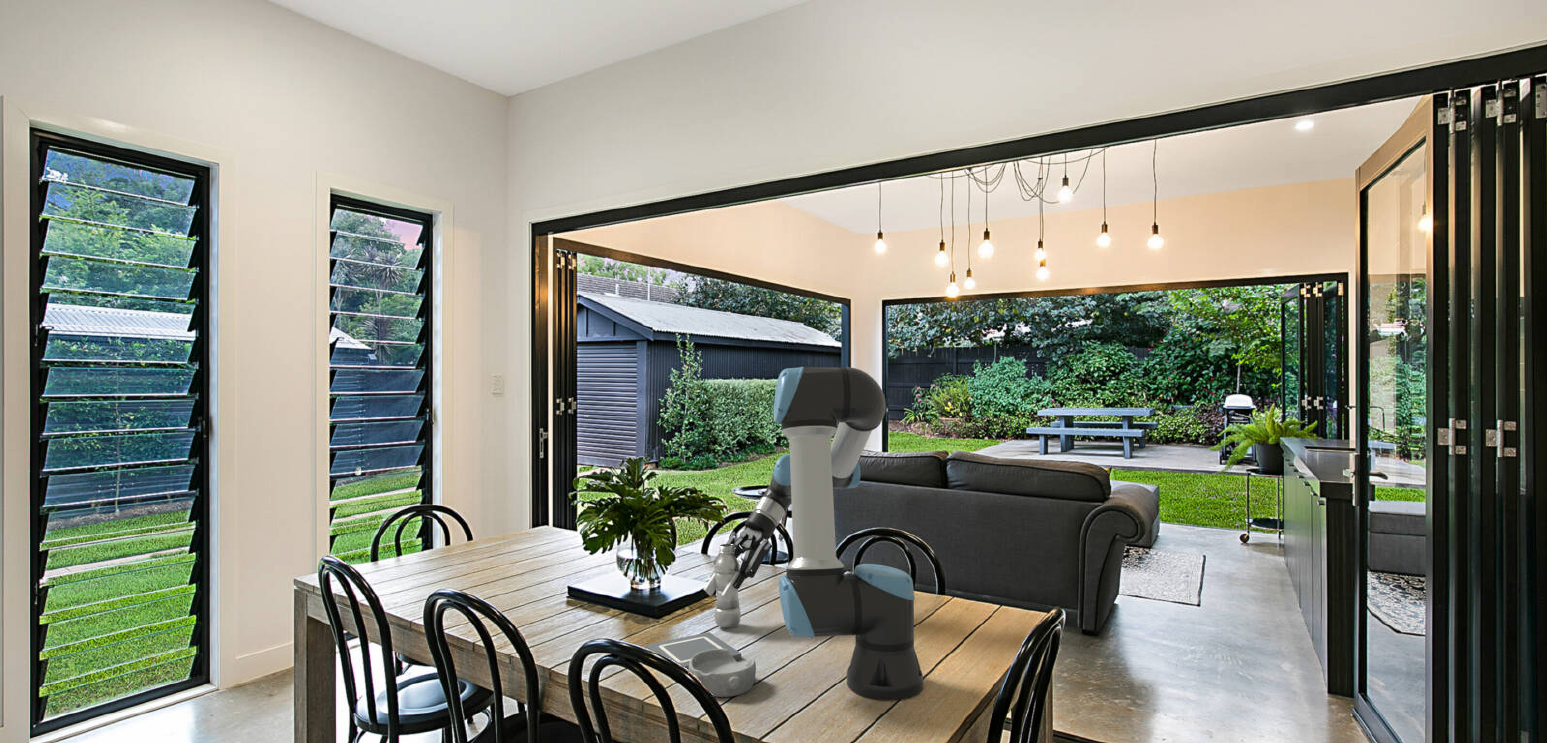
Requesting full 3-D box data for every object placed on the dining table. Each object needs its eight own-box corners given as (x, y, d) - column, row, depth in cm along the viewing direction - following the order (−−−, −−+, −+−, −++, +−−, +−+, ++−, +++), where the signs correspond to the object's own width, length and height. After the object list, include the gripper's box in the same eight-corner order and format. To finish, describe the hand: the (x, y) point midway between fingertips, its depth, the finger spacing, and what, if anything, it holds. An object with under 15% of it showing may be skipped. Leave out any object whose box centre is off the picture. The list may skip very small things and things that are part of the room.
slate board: (741, 659, 161) (741, 653, 161) (673, 674, 153) (673, 668, 153) (709, 637, 175) (709, 632, 175) (645, 650, 166) (645, 644, 166)
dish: (707, 667, 157) (707, 644, 157) (767, 677, 151) (766, 653, 152) (672, 694, 143) (672, 669, 143) (736, 706, 138) (736, 680, 138)
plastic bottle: (746, 624, 183) (745, 544, 183) (730, 632, 177) (729, 549, 177) (725, 620, 186) (724, 541, 186) (709, 628, 180) (708, 546, 181)
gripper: (798, 533, 186) (750, 612, 174) (747, 523, 199) (700, 596, 188) (783, 515, 182) (733, 595, 170) (732, 506, 196) (683, 579, 184)
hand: (716, 595), depth 179 cm, fingers closed on plastic bottle, 6 cm apart
